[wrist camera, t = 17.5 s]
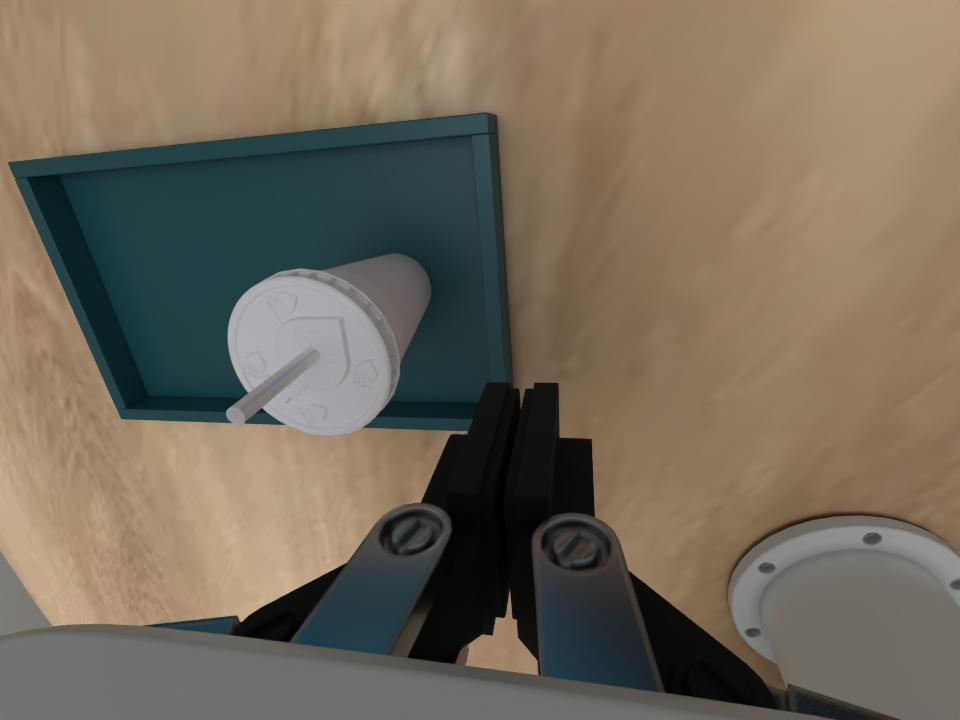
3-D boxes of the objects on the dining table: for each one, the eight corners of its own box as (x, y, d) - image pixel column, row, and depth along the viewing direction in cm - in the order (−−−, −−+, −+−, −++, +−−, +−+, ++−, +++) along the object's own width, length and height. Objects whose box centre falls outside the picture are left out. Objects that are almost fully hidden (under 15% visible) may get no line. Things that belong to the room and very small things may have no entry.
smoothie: (480, 287, 25) (380, 437, 13) (408, 364, 28) (265, 550, 15) (386, 199, 24) (175, 266, 12) (320, 288, 27) (92, 420, 14)
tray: (514, 410, 28) (509, 433, 26) (150, 401, 34) (120, 419, 32) (497, 114, 22) (487, 112, 20) (51, 160, 27) (6, 162, 25)
